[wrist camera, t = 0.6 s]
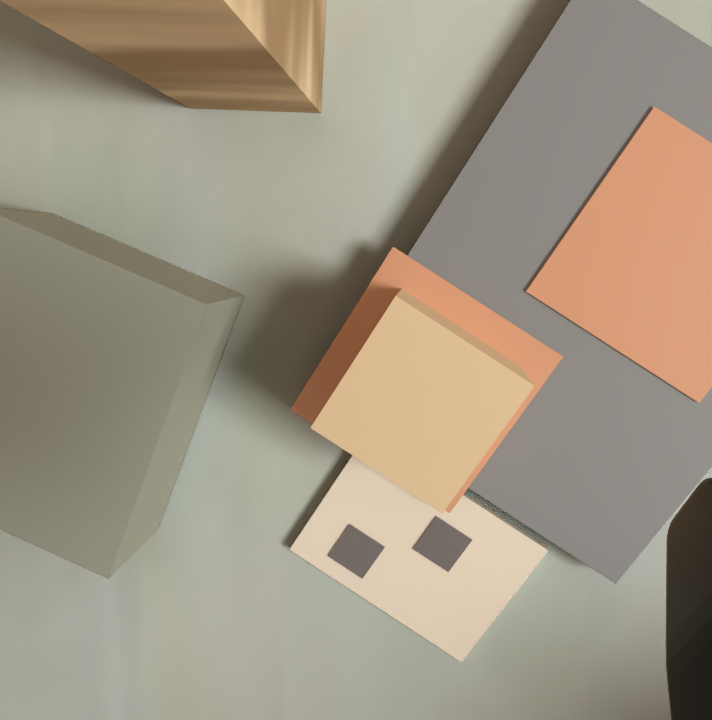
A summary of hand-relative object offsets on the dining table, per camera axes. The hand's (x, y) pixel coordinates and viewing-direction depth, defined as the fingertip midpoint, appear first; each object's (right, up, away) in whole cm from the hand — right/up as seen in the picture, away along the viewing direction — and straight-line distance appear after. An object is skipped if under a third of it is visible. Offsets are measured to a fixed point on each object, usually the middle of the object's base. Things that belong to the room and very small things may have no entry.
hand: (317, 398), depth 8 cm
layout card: (+2, -6, +14) cm, 15 cm away
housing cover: (-8, 0, +14) cm, 17 cm away
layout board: (+8, +2, +12) cm, 14 cm away
